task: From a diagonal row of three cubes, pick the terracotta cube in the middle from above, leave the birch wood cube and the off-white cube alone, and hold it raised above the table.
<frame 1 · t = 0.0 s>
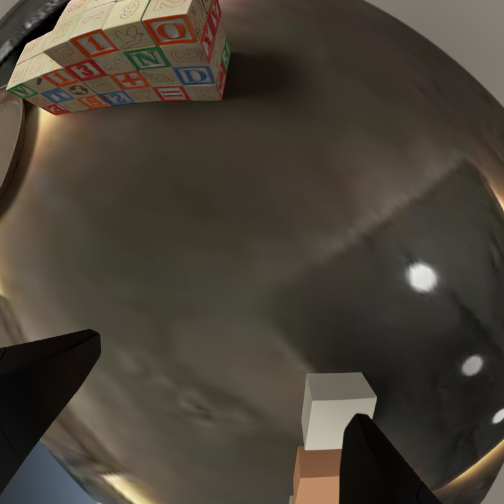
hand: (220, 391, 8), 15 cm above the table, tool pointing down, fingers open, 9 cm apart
stack of blocks: (132, 82, 25), on the table
terracotta cube: (319, 461, 24), on the table
off-white cube: (331, 396, 23), on the table
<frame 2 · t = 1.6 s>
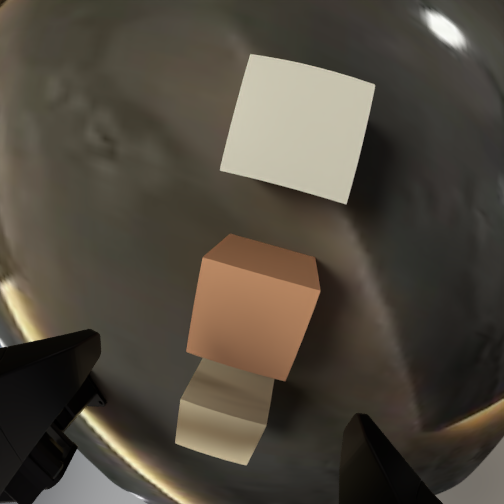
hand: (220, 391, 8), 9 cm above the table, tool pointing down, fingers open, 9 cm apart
birch cube: (233, 387, 20), on the table
terracotta cube: (261, 284, 17), on the table
off-white cube: (299, 139, 15), on the table
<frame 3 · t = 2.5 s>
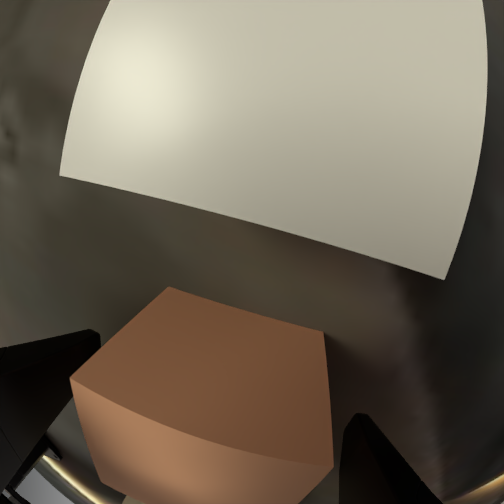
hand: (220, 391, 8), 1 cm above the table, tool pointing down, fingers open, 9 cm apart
terracotta cube: (228, 369, 9), on the table
off-white cube: (295, 104, 7), on the table
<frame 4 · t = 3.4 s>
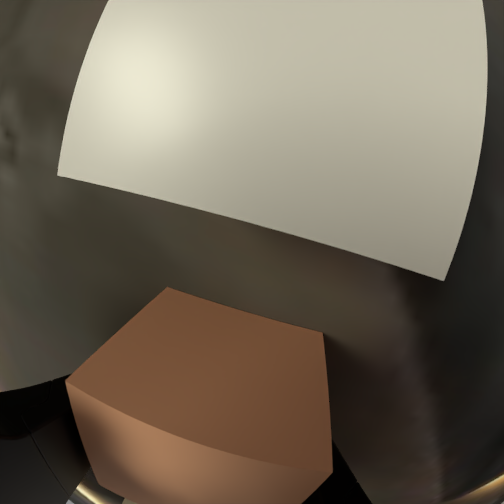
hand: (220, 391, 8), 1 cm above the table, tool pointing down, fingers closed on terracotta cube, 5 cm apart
terracotta cube: (227, 371, 9), on the table, touching gripper
off-white cube: (294, 104, 7), on the table
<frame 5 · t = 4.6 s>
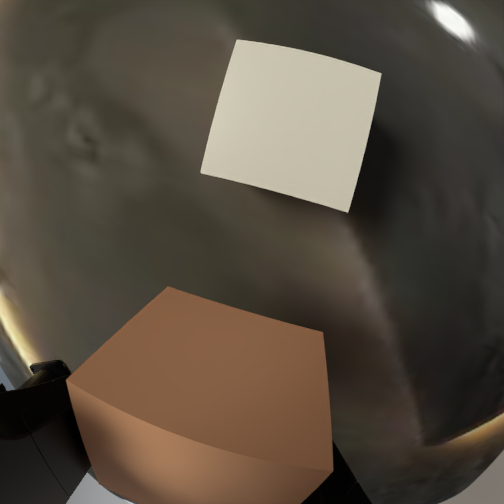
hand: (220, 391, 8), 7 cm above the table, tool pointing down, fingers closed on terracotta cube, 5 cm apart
terracotta cube: (227, 371, 9), point 6 cm above the table, touching gripper
off-white cube: (294, 137, 13), on the table
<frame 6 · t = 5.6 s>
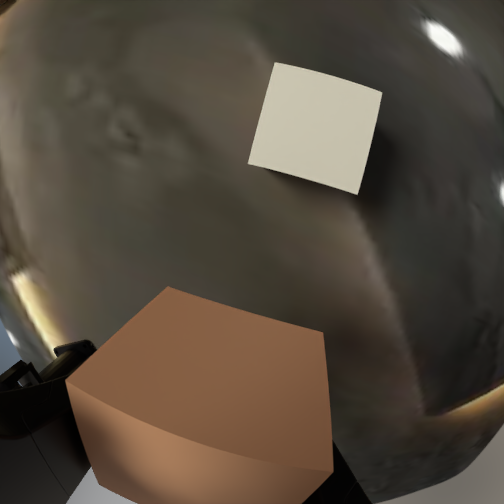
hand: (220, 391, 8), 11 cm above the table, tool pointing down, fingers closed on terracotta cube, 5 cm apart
terracotta cube: (227, 371, 9), point 10 cm above the table, touching gripper
off-white cube: (312, 138, 16), on the table
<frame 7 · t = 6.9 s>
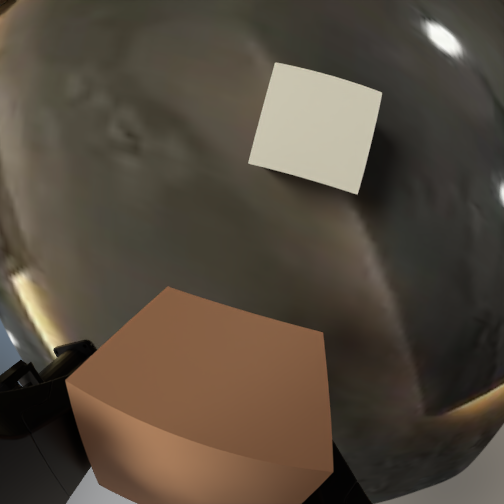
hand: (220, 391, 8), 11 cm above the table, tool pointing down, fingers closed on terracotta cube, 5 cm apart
terracotta cube: (227, 371, 9), point 10 cm above the table, touching gripper
off-white cube: (312, 138, 16), on the table
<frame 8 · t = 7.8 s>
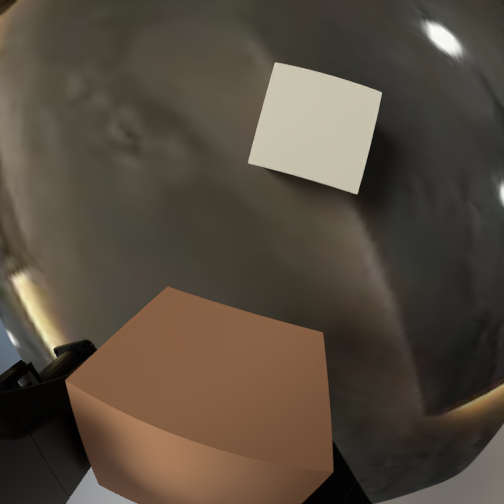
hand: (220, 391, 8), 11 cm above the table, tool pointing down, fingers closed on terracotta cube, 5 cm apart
terracotta cube: (227, 371, 9), point 10 cm above the table, touching gripper
off-white cube: (312, 138, 16), on the table
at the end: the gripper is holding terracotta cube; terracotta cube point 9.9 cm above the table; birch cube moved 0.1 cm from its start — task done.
